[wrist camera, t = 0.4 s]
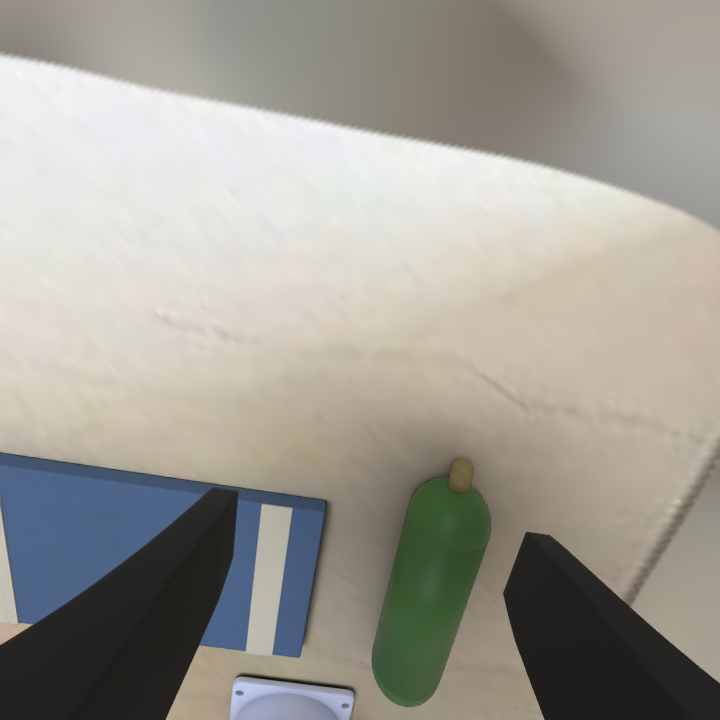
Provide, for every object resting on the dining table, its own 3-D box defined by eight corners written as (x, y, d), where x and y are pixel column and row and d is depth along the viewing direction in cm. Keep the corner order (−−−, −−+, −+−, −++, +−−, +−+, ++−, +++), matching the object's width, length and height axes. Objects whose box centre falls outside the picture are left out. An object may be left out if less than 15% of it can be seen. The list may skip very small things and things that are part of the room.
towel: (302, 641, 24) (299, 660, 23) (-23, 600, 23) (-40, 617, 22) (326, 499, 21) (324, 513, 20) (-53, 444, 20) (-75, 455, 19)
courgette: (427, 652, 24) (438, 729, 21) (365, 644, 24) (366, 720, 21) (493, 444, 20) (524, 494, 16) (417, 432, 20) (431, 480, 16)
